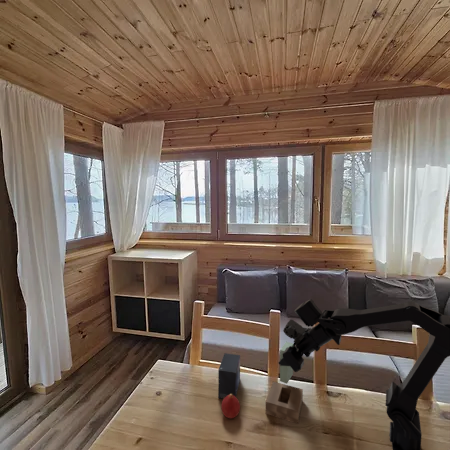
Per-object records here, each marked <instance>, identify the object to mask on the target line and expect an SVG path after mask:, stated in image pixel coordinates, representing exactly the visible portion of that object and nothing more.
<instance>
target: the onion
mask: <svg viewBox="0 0 450 450" xmlns="http://www.w3.org/2000/svg"><path fill="white" fill-rule="evenodd" d="M240 409H241V403H240V401H239V399H238V398H237V396H236V397H235V396H234V395H232V394H230V395H227V396H226V397H223V399H222V401H221V412H222V414H223V415H224V416H225V417H226V418H227V419H234V418H235V417H237V416H238V415H239V413H240Z"/></svg>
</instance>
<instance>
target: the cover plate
mask: <svg viewBox="0 0 450 450" xmlns="http://www.w3.org/2000/svg"><path fill="white" fill-rule="evenodd" d="M293 344H294V342H289V341H286V342H284V344H283V345H282V347H281V348H280V350H279V361H280V360H281V359H282V358H283V355H282V354H283V353H284V351H285V350H286V348H287V347H290V346H291V347H293ZM293 374H294V371H293V369H292V368H291V367H290V366H280V365H279V382H280V383H283V384H285V385H288V383H289V382H290V380H291V377H292V376H293Z"/></svg>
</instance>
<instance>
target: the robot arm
mask: <svg viewBox="0 0 450 450" xmlns="http://www.w3.org/2000/svg"><path fill="white" fill-rule="evenodd" d="M294 312H295V314H296V315H297V316H298V318H299V319H300V320H301V322H303V324H304V325H305V326H306V327H303V326H302V325H301V324H299V322H297V321H295V320H294V319H289V320H288V322H287V323H286V325H285V326H284V328H283V330H282V331H283V333H284V335H286V336H287V337H288V338H289V339H293V347H291V346H290V347H287V348H286V350H285V351H284V353H283V354H282V355H283V358H282V359H281V360H280V359H279V361H278V365H279V367H280V366H290V367H291V368H292V369H293V373H294V372H295V373H297V372H299V371H301V370H302V368H303V366H304V364H305V359H304V358H303V356H305V357H306V358H309V357H310V355H311V354H312V353H313V352H319V351H320V349H321V347H323V346H324V345H326V344H328V343H329V342H331V341H334V342H335V344H336V345H337V346H339V345H341V341H342V335H343V336H344V335H348V334H352V333H354V332H356V331H357V330H360V329H362V328H366V327H371V326H372V327H373V326H379V325H388V324H395V323H397V324H398V323H403V322H405V323H406V322H412V323H413V324H415V325H417V326H418V327H420V328H421V329H422V330H424V331H425V332H426V333H428V334H429V336H428V341H427V344H426V345H425V347H424V348H423V351H422V352H421V354H420V355H419V357H418V358H417V360H416V361H415V363H414V364H413V366H412V367H411V369H410V370H409V372H408V373H407V375H406V377H405V378H404V380H403V381H402V382H401V383H399V384H397V383H395V382H394V381H392V382H391V384H390V387H389V388H388V389H387V390H386V391H385V406H386V414H387V417H388V418H389V419H390V422H389V441H390V443H391V447H392V448H391V449H392V450H422V449H421V447H422V435H423V434H422V427H421V421H420V420H421V418H420V417H421V416H420V411H418V410H417V405H418V400H419V398H420V397H421V395H422V394H423V393H424V391H425V389H426V388H427V387H428V385H429V383H430V382H431V380H432V379H433V377H434V376H435V375H436V374H437V372H438V370H439V369H440V368H441V366H442V364H443V363H444V362H445V360H446V359H447V358H449V357H450V315H447V314H442V313H441V312H438V311H436V310H434V309H431V308H427V307H425V306H423V305H420V304H418V303H416V301H406V302H404V303H398V304H391V305H385V306H380V307H372V308H366V309H365V308H364V309H354V308H338V309H323V311H322V310H321V309H320V308H319V306H318V305H317V304H316V303H315V301H314V300H313V299H312V298H309V300H306V301H304V302H302V303H301V304H299V306H298V307H296V309H295V310H294ZM311 327H312V328H311Z"/></svg>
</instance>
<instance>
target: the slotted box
mask: <svg viewBox="0 0 450 450" xmlns="http://www.w3.org/2000/svg"><path fill="white" fill-rule="evenodd" d="M303 392H304V389H303V388H299V387H295V386H292V385H288V384H286V383H282V382H276V381H272V383H271V385H270V389H269V391H268V394H267V396H266V399H265V414H266V415H270V416H272V417H275V418H279V419H282V420H286V421H287V422H288V421H289V422H290V423H294V424H297V425H298V424H299V420H300V415H301V410H302V406H303V396H304V394H303Z"/></svg>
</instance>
